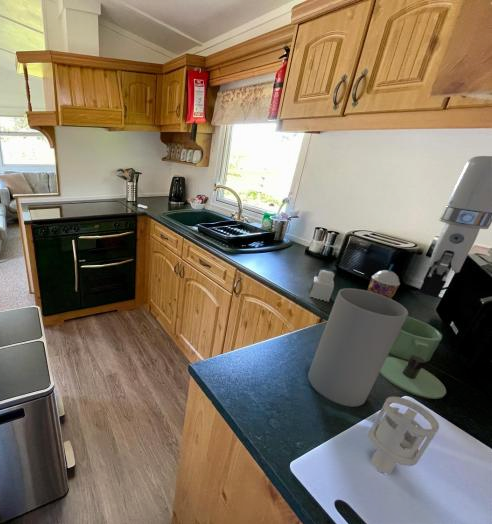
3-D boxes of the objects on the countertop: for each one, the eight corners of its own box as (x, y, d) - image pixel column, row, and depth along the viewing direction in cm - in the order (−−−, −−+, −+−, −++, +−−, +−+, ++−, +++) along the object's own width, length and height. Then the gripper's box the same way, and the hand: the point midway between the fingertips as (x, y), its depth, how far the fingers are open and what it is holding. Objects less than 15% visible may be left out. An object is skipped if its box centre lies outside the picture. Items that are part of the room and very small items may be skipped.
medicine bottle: (309, 290, 125) (317, 265, 121) (328, 295, 122) (337, 269, 118) (308, 297, 119) (317, 270, 115) (328, 302, 116) (338, 275, 112)
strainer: (352, 460, 55) (382, 402, 50) (366, 441, 59) (395, 386, 54) (397, 494, 50) (436, 434, 45) (409, 472, 54) (447, 414, 48)
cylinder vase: (296, 372, 77) (325, 289, 68) (334, 367, 80) (367, 287, 71) (335, 412, 66) (376, 319, 56) (377, 404, 69) (423, 315, 59)
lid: (429, 370, 82) (440, 351, 79) (456, 409, 69) (470, 388, 67) (368, 353, 87) (376, 335, 84) (382, 386, 74) (393, 366, 72)
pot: (414, 338, 96) (426, 317, 93) (442, 375, 80) (456, 351, 77) (366, 326, 101) (375, 305, 98) (382, 359, 85) (394, 335, 82)
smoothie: (356, 310, 112) (376, 263, 104) (361, 303, 117) (380, 258, 110) (383, 320, 106) (406, 270, 99) (386, 312, 112) (408, 265, 104)
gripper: (494, 227, 53) (450, 306, 60) (489, 217, 65) (452, 285, 71) (439, 218, 58) (404, 292, 65) (443, 210, 70) (413, 274, 76)
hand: (429, 288), depth 68 cm, fingers open, 9 cm apart
